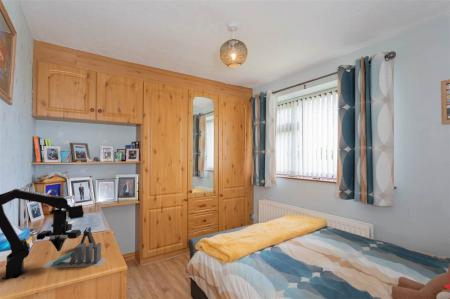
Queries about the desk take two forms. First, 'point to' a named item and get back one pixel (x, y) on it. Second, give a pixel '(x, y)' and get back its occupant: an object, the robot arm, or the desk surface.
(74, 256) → the domino
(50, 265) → the mat
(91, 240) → the phone stand
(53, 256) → the desk surface
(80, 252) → the domino
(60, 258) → the domino
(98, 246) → the domino
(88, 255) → the domino
